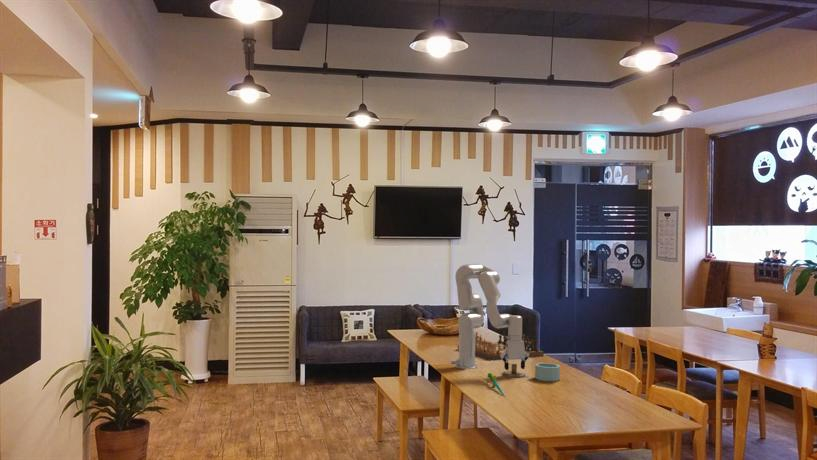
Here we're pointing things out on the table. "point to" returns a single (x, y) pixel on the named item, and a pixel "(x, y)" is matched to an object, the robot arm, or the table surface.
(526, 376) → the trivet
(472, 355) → the robot arm
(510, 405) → the table surface
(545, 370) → the bowl
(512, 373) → the lid
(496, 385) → the toy sword
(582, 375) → the table surface
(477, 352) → the chess set
